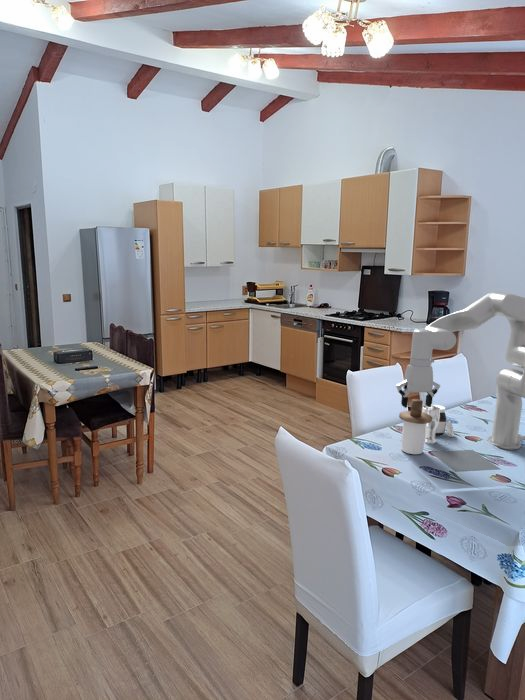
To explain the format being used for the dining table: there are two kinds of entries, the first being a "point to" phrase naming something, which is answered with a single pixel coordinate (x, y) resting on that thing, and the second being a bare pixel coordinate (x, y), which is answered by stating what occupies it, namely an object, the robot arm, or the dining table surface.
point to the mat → (464, 460)
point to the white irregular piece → (444, 424)
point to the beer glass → (431, 423)
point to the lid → (415, 413)
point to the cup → (413, 437)
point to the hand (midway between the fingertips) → (416, 406)
